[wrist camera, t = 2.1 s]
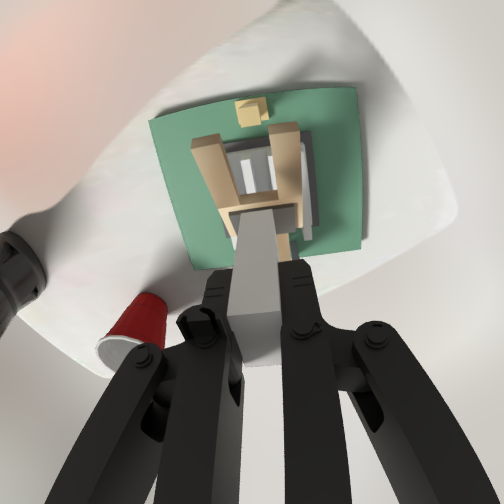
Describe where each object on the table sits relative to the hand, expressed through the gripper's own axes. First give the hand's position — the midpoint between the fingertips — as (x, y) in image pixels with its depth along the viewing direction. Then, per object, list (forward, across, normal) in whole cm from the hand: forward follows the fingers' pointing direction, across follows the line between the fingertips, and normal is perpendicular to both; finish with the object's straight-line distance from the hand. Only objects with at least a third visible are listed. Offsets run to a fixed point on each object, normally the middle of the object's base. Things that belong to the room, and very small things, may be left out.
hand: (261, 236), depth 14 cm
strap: (+7, 0, -4) cm, 8 cm away
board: (+18, 0, -4) cm, 19 cm away
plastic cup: (+19, -21, -20) cm, 35 cm away
